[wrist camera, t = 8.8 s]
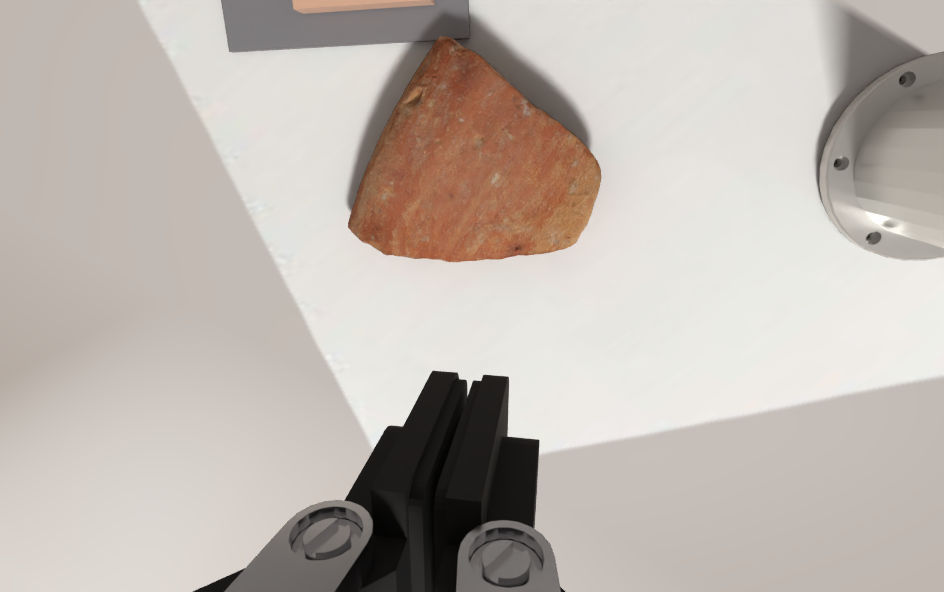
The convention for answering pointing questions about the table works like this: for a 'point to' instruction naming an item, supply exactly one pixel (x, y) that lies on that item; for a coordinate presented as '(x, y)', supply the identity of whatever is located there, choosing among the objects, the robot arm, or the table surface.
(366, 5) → the tile
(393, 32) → the mat
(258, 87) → the table surface
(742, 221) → the table surface
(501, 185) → the ceramic shard
